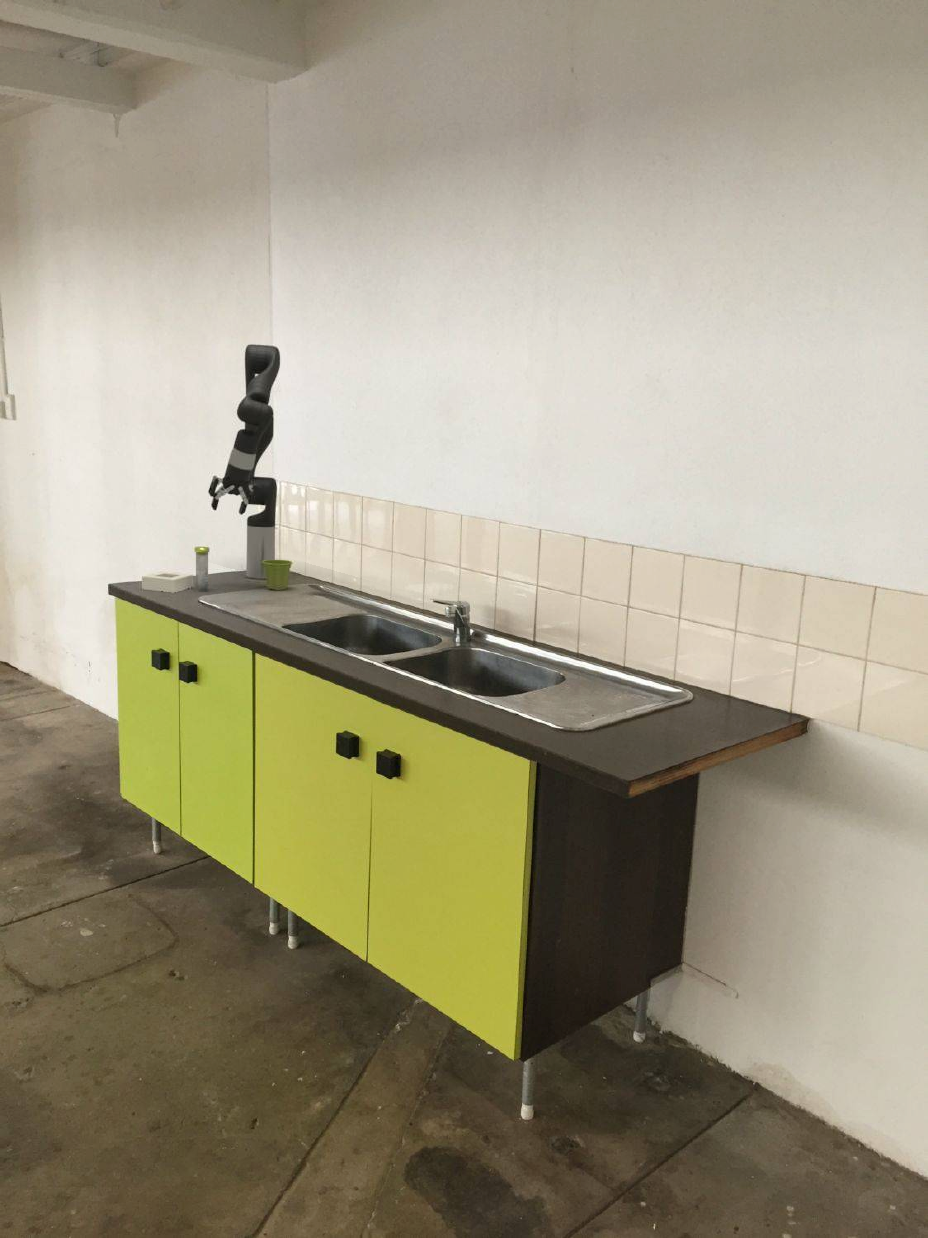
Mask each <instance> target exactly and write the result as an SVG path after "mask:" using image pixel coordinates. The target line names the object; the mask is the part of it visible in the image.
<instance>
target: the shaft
mask: <svg viewBox="0 0 928 1238" xmlns="http://www.w3.org/2000/svg"><path fill="white" fill-rule="evenodd" d="M194 553H195V591H196V590H197V592H208V591H209V553H210V547H209V546H195V547H194Z"/></svg>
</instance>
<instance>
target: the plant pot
mask: <svg viewBox="0 0 928 1238" xmlns="http://www.w3.org/2000/svg"><path fill="white" fill-rule="evenodd" d="M262 563H263V564H264V568H265V573H266V579H265V580H266V587H267V589H268V590H274V591H283V590H287V589H288V582H289V577H290V571H291V568H292V564H293V561H291V560H287V559H275V560H264V561H262Z"/></svg>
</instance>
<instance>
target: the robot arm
mask: <svg viewBox="0 0 928 1238" xmlns="http://www.w3.org/2000/svg"><path fill="white" fill-rule="evenodd" d="M280 354H281V353H280V350H279V348H278V347H277V346H275V345H268V344H267V345H265V344H248V345H247V346H246V348H245V350H244V374H245V375H244V378H245V379H244V380H245V396H244V397H243V398H242V400H241V401H240V402H239V404H238V406H237V409H236V415H237V418H238V420H240V421H241V422H243V423H244V428H243V429H239V430H238V431H237V433H236V437H235V440H234V443H233V447H232V449H231V451H230V454H229V458H228V462H227V465H226V469H225V472H224V476H223V477H222V478H221V477H218V476H216V475H213V477H212V480H211V482H210V485H209V489H208V491H207V493H208V494H209V496H210V497H211V498H212V499H211V508H212V510H213V511H217V509H218V505H219V502H220V498H221V497H223V496H226V494H228V495H234V496H237V497H238V496H240V497H241V499H242V501H241V503H240V506H239V509H238V514H239V515H243V514H245V513H246V510H247V507H248V505H251V506H252V505H254V506H264V509H263V510H262V511H260V512H258V513H255V514H251V515H249V516H248V517H247V519H246V570H245V571H246V575H245V576H246V577H247V578H249V579H259V580H261V579H262V580H264V579H265V580H266V573H265V568H264V564H263V563H262V561H264V560H276V517H277V516H276V508H277V499H278V498H277V496H278V484H277V480H276V479H275V478H274V477H268V476H265V477H264V476H255V474H256V468H257V466H258V463H259V461H260V459H261V458H262V456H263V454H264V453H265V452H266V450H267V449H268V448H269V446H270V444H271V443H272V440H273V439H274V428H275V427H274V425H275V423H274V421H275V418H274V414H275V413H274V409H273V407H272V406H271V405H269V403H270V397H271V392H272V388H273V385H274V384H275V381H276V379H277V377H278V374H279V371H280V367H281V355H280ZM220 484H222V486H220V487H218V486H219V485H220ZM217 488H218V489H217Z"/></svg>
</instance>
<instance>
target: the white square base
mask: <svg viewBox="0 0 928 1238" xmlns="http://www.w3.org/2000/svg"><path fill="white" fill-rule="evenodd" d="M191 587H193V588H194V574H189V573H181V572H173V571H158V572H154V573H150V574H146V575H142V576H141V589H142V590H146V591H152V592H153V591H154V592H161V591H163V593H169V592H170V593H171V594H175V592H176V593H178V591H179V592H182V591H186V590H189V589H192V588H191ZM188 588H189V589H188ZM185 589H186V590H185Z"/></svg>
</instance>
